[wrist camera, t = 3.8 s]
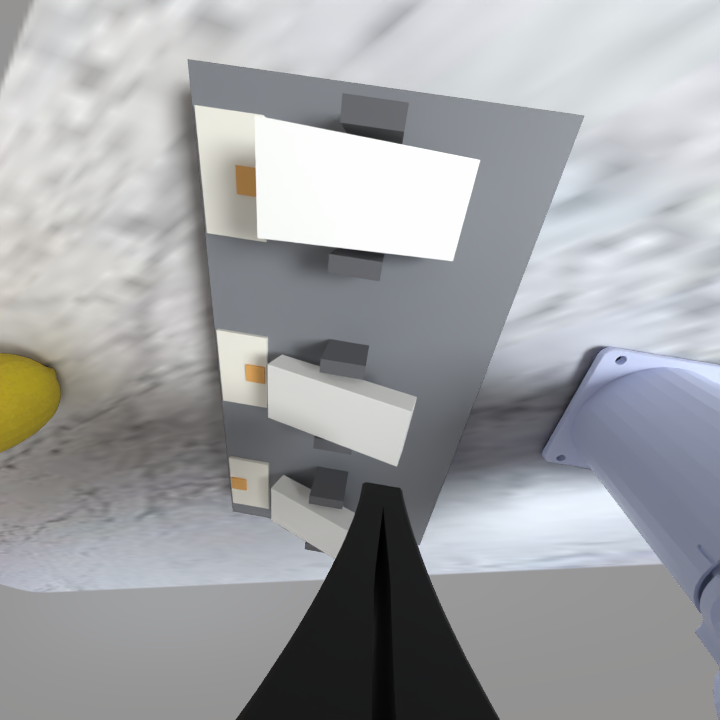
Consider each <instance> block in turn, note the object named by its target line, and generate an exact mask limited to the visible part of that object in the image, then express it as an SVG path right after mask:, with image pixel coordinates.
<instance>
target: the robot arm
mask: <svg viewBox="0 0 720 720" xmlns="http://www.w3.org/2000/svg"><path fill="white" fill-rule="evenodd" d="M620 356H622V357H621V358H620V359H619V360H618V361H616V359H617V358H618V357H620ZM559 455H561V456H559ZM542 456H543V457H544V459H545V460H546V461H548V462H553V463H559V464H565V465H571V466H577V467H582V468H588V469H592V471H593V472H594V473H595V475H596V476H597V477H598V478H599V480H600V481H601V482H602V484H603V485H604V486H605V488H606V489H607V490H608V492H609V493H610V494H611V496H612V497H613V498H614V500H615V501H616V502H617V504H618V505H619V506H620V508H621V509H622V510H623V511H624V513H625V514H626V515H627V517H628V518H629V519H630V521H631V522H632V523H633V525H634V526H635V527H636V529H637V530H638V531H639V533H640V534H641V535H642V537H643V538H644V539H645V540H646V542H647V543H648V544H649V546H650V547H651V548H652V550H653V551H654V552H655V554H656V555H657V556H658V558H659V559H660V560H661V562H662V563H663V564H664V566H665V567H666V568H667V569H668V571H669V572H670V573H671V575H672V576H673V577H674V579H675V580H676V581H677V583H678V584H679V585H680V587H681V588H682V589H683V591H684V592H685V593H686V594H687V596H688V597H689V599H690V600H691V601H692V602H693V604H694V605H695V606H696V608H697V609H698V610H699V612H700V613H701V614H702V617H703V622H702V624H701V625H700V627H698V628H697V629H696V630H695V633H696V634H697V636H698V637H699V639H700V640H701V642H702V643H703V644H704V646H705V647H706V649H707V650H708V651H709V653H710V654H711V656H712V657H713V658H714V660H715V661H716V663H717V664H718V665H719V667H720V365H719V364H713V363H706V362H700V361H694V360H688V359H682V358H675V357H669V356H663V355H657V354H651V353H644V352H638V351H632V350H626V349H620V348H613V347H608V348H604V349H603V350H601V351H600V352H599V353H598V354H597V356H596V358H595V360H594V361H593V363H592V365H591V367H590V369H589V370H588V372H587V374H586V376H585V377H584V379H583V381H582V383H581V384H580V386H579V388H578V390H577V391H576V393H575V395H574V397H573V398H572V400H571V402H570V404H569V406H568V407H567V409H566V411H565V413H564V414H563V416H562V418H561V420H560V421H559V423H558V425H557V427H556V428H555V430H554V432H553V434H552V435H551V437H550V439H549V441H548V443H547V444H546V446H545V448H544V450H543V451H542ZM713 694H714V703H715V708H716V711H717V715H718V718H719V720H720V669H719V671H718V672H717V674H716V676H715V680H714V688H713ZM236 720H500V719H499V717H498V715H497V714H496V712H495V710H494V708H493V707H492V705H491V703H490V701H489V699H488V697H487V696H486V694H485V692H484V690H483V688H482V686H481V684H480V683H479V681H478V679H477V677H476V675H475V673H474V671H473V670H472V668H471V666H470V664H469V662H468V660H467V659H466V656H465V654H464V652H463V650H462V649H461V647H460V644H459V642H458V640H457V639H456V636H455V634H454V632H453V630H452V628H451V626H450V624H449V622H448V619H447V617H446V615H445V613H444V611H443V608H442V606H441V604H440V602H439V599H438V597H437V595H436V592H435V590H434V588H433V585H432V583H431V580H430V578H429V575H428V573H427V570H426V567H425V565H424V562H423V559H422V557H421V554H420V551H419V548H418V545H417V542H416V540H415V536H414V533H413V530H412V527H411V524H410V520H409V517H408V513H407V510H406V506H405V501H404V497H403V492H402V490H401V489H400V488H398V487H392V486H386V485H381V484H375V483H369V482H365V483H363V484H362V489H361V494H360V499H359V502H358V506H357V509H356V512H355V515H354V517H353V520H352V523H351V525H350V527H349V530H348V532H347V535H346V537H345V540H344V542H343V544H342V546H341V548H340V550H339V553H338V555H337V557H336V559H335V561H334V563H333V565H332V567H331V569H330V571H329V573H328V575H327V577H326V579H325V581H324V583H323V584H322V586H321V588H320V590H319V592H318V593H317V596H316V597H315V599H314V601H313V602H312V604H311V606H310V608H309V609H308V611H307V613H306V614H305V616H304V618H303V620H302V621H301V623H300V625H299V626H298V628H297V629H296V631H295V633H294V634H293V636H292V637H291V639H290V641H289V642H288V644H287V645H286V647H285V648H284V650H283V651H282V653H281V655H280V656H279V658H278V659H277V661H276V662H275V664H274V665H273V667H272V668H271V670H270V671H269V673H268V674H267V676H266V677H265V679H264V680H263V682H262V684H261V685H260V686H259V688H258V689H257V691H256V692H255V693H254V695H253V696H252V698H251V699H250V701H249V702H248V703H247V705H246V706H245V708H244V709H243V710H242V712H241V713H240V715H239V716H238V717H237V719H236Z"/></svg>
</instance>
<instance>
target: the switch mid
mask: <svg viewBox="0 0 720 720" xmlns="http://www.w3.org/2000/svg"><path fill="white" fill-rule="evenodd" d="M267 366H268V418H271V419H273V420H276V421H278V422H281V423H284V424H286V425H289V426H292V427H294V428H297V429H299V430H302V431H305V432H307V433H310V434H312V435H315V436H318V437H320V438H323V439H326V440H328V441H331V442H333V443H336V444H339V445H341V446H344V447H347V448H349V449H352V450H354V451H357V452H360V453H362V454H365V455H367V456H370V457H373V458H375V459H378V460H381V461H383V462H386V463H388V464H391V465H394V466H396V467H397V465H398V462H399V459H400V456H401V453H402V451H403V447H404V443H405V440H406V436H407V432H408V429H409V425H410V421H411V418H412V414H413V410H414V407H415V403H416V399H417V397H416V396H412V395H409V394H406V393H403V392H400V391H397V390H393V389H390V388H387V387H384V386H381V385H377V384H374V383H371V382H368V381H365V380H362V379H356V378H350V377H344V376H338V375H332V374H326V373H320V366H317V365H314V364H311V363H307V362H304V361H301V360H298V359H295V358H292V357H288V356H285V355H281V356H279V357H278V358H276V359H275V360H273V361H272V362H270V363H269V364H267Z"/></svg>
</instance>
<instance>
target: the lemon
mask: <svg viewBox="0 0 720 720" xmlns="http://www.w3.org/2000/svg"><path fill="white" fill-rule="evenodd" d="M60 399H61V389H60V386H59V383H58V380H57V379H56V372H55V370H54V369H52V368H49V367H45V366H43V365H42V364H40V363H38V362H36V361H34V360H32V359H29V358H26V357H22V356H18V355H14V354H6V353H0V453H1V452H3V451H5V450H7V449H9V448H11V447H13V446H15V445H17V444H19V443H21V442H23V441H24V440H26V439H27V438H29V437H30V436H32V435H33V434H35V433H36V432H37V431H38V430H39V429H41V428H42V427H43V426H44V425H45V424H46V423H47V422H48V421H49V420H50V419H51V418H52V416H53V415H54V414H55V412H56V410H57V408H58V406H59V403H60Z"/></svg>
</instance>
